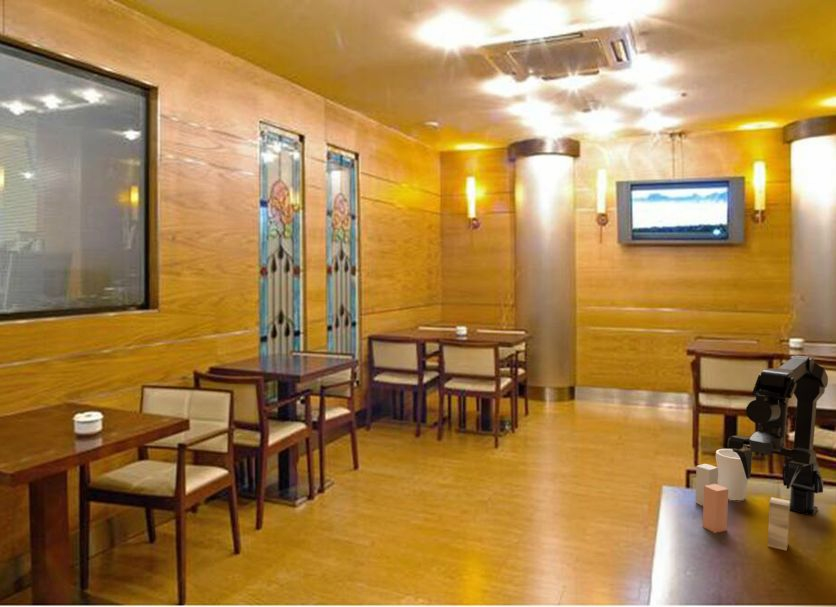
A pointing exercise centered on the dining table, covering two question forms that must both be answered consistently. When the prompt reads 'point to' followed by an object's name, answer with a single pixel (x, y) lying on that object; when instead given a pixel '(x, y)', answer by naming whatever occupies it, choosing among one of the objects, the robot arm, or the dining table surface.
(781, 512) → the birch post
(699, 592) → the dining table surface
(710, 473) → the grey post
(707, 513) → the terracotta block
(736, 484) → the foam cup
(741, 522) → the dining table surface
